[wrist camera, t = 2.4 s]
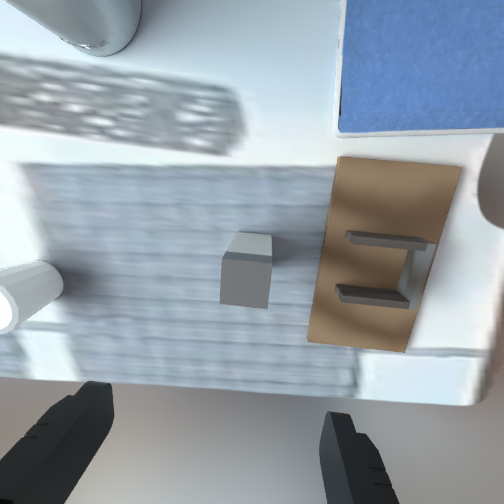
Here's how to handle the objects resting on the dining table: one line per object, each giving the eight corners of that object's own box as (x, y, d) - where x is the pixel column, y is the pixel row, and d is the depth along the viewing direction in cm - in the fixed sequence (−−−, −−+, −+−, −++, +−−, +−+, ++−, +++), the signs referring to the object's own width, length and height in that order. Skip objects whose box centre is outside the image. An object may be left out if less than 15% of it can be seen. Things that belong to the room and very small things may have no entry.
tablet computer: (330, 139, 27) (333, 137, 26) (339, -12, 23) (343, -22, 22) (526, 133, 26) (540, 131, 24) (569, -27, 22) (587, -39, 21)
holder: (337, 157, 27) (349, 154, 23) (455, 167, 26) (486, 165, 22) (306, 336, 33) (311, 358, 29) (400, 347, 33) (418, 370, 29)
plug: (237, 231, 30) (222, 258, 20) (271, 235, 30) (272, 263, 20) (235, 263, 31) (219, 303, 21) (267, 267, 31) (267, 308, 21)
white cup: (78, 284, 33) (30, 311, 26) (48, 313, 35) (-5, 346, 28) (36, 244, 32) (-26, 263, 25) (6, 277, 33) (-59, 302, 27)
